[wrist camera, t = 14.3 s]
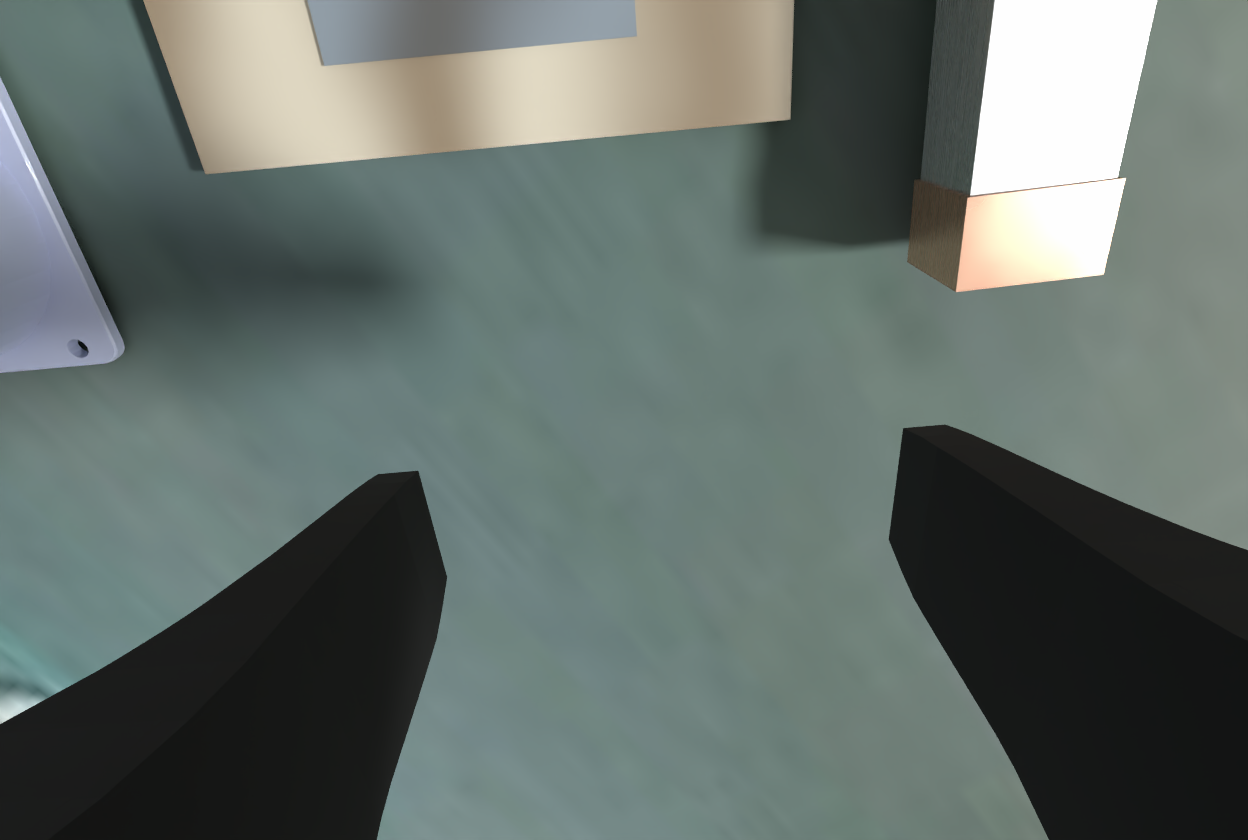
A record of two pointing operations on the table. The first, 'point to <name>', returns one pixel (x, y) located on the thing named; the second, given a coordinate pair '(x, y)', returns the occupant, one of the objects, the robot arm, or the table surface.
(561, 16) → the label board
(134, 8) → the table surface
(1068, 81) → the light grey long piece
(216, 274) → the table surface
